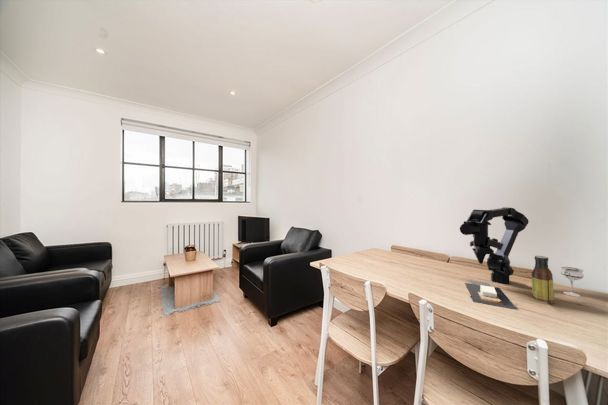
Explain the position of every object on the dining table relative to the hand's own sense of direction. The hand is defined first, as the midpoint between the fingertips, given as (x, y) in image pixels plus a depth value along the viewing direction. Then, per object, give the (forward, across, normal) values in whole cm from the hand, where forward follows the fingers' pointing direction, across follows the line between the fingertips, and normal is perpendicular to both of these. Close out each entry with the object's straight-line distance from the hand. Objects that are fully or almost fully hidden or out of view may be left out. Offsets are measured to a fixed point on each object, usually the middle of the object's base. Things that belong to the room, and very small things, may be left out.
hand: (480, 263), depth 108 cm
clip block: (+11, -12, 0) cm, 17 cm away
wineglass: (+12, +8, -35) cm, 38 cm away
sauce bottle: (+12, -7, -20) cm, 24 cm away
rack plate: (+12, -11, 0) cm, 16 cm away
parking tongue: (+12, +2, 0) cm, 12 cm away
